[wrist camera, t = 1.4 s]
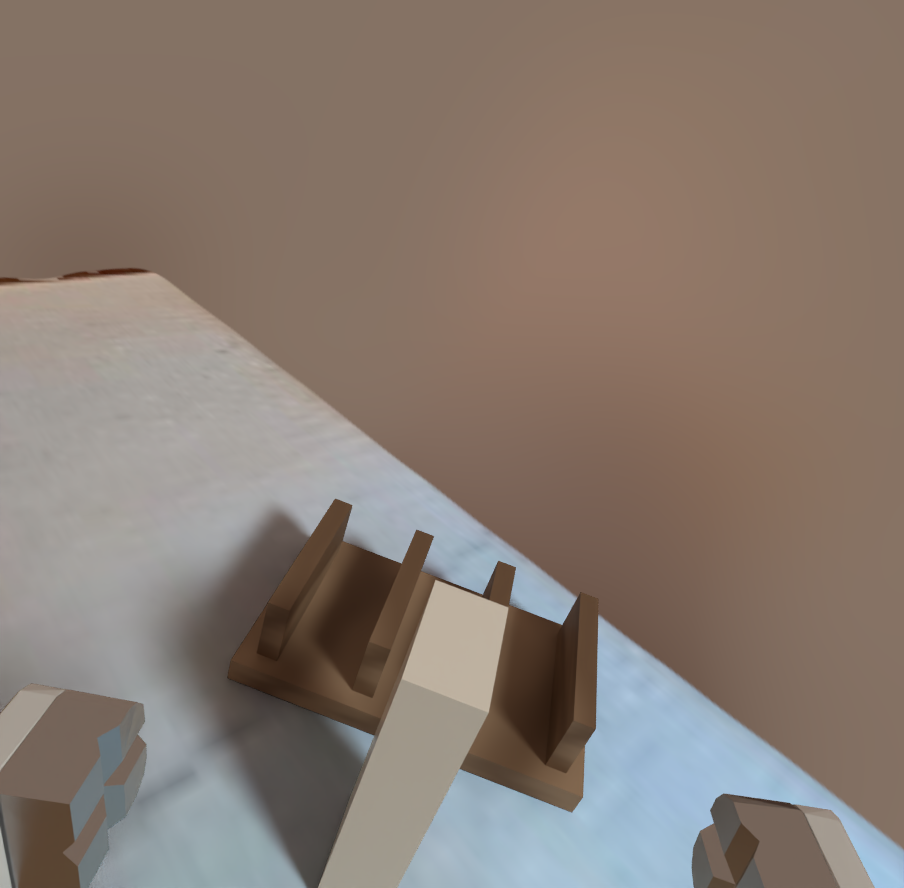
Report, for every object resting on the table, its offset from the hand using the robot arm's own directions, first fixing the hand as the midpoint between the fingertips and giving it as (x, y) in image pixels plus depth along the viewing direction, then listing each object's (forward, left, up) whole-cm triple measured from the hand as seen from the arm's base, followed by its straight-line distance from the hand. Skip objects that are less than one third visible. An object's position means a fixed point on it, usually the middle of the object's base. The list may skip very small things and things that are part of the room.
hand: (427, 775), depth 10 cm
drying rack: (+1, +24, -24) cm, 33 cm away
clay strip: (+1, +11, -24) cm, 27 cm away
